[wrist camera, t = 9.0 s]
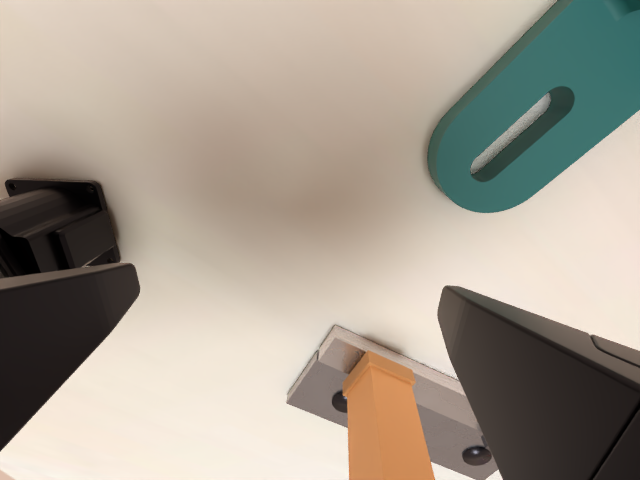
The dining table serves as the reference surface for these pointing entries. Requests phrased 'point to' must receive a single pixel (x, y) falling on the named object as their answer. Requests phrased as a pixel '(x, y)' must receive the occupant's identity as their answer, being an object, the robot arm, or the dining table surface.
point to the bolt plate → (439, 431)
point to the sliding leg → (384, 423)
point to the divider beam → (430, 384)
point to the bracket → (527, 89)
